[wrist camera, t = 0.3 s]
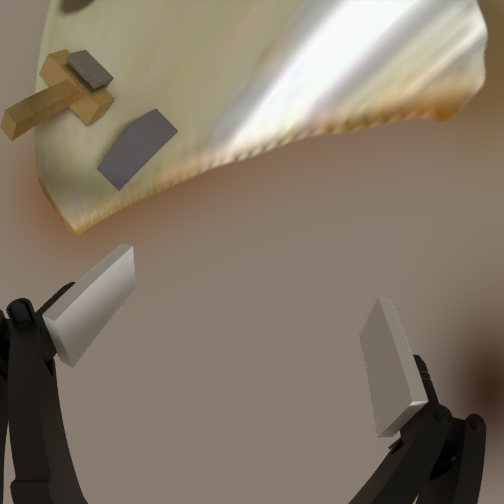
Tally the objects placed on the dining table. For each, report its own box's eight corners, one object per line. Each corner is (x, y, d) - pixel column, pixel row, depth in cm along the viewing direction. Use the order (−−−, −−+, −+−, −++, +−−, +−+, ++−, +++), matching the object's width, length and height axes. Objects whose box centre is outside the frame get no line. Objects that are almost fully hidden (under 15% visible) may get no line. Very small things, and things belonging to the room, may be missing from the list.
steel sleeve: (85, 49, 28) (68, 54, 25) (113, 77, 31) (97, 84, 29) (66, 80, 32) (50, 87, 29) (92, 107, 35) (77, 116, 32)
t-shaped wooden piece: (65, 49, 26) (-15, 80, 15) (115, 98, 33) (37, 144, 21) (55, 67, 28) (-21, 103, 17) (102, 116, 35) (30, 166, 24)
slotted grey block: (156, 108, 35) (130, 125, 30) (178, 131, 37) (155, 151, 32) (121, 147, 40) (96, 168, 35) (141, 167, 43) (119, 190, 37)
